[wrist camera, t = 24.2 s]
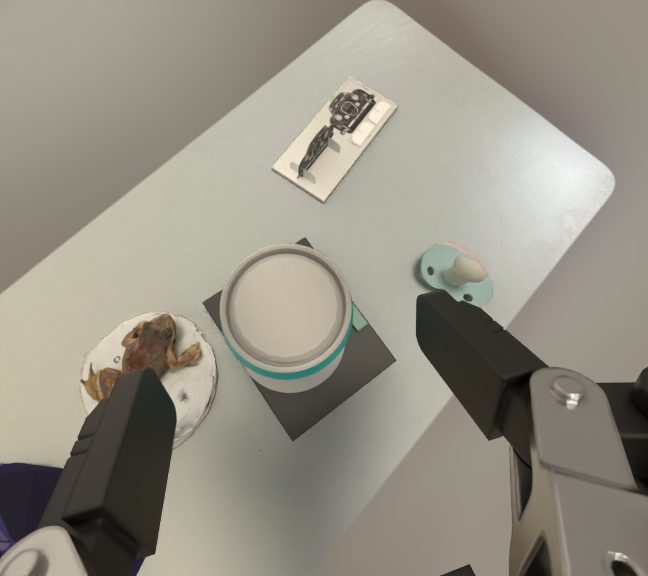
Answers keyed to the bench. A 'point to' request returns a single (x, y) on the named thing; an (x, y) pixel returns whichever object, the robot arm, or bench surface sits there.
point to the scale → (320, 375)
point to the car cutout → (335, 139)
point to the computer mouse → (26, 501)
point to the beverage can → (286, 311)
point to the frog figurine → (156, 365)
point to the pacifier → (457, 273)
